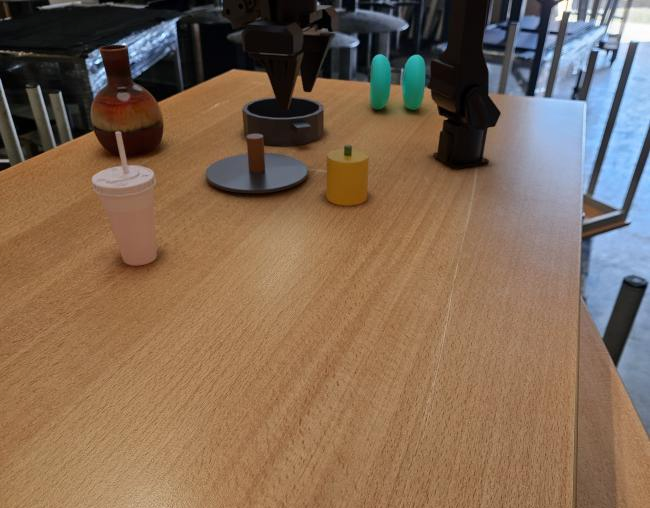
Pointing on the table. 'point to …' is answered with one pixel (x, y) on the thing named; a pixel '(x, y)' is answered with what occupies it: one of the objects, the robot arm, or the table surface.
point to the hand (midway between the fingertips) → (296, 100)
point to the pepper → (347, 176)
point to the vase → (125, 108)
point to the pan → (284, 121)
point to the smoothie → (129, 208)
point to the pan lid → (256, 170)
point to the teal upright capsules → (410, 87)
